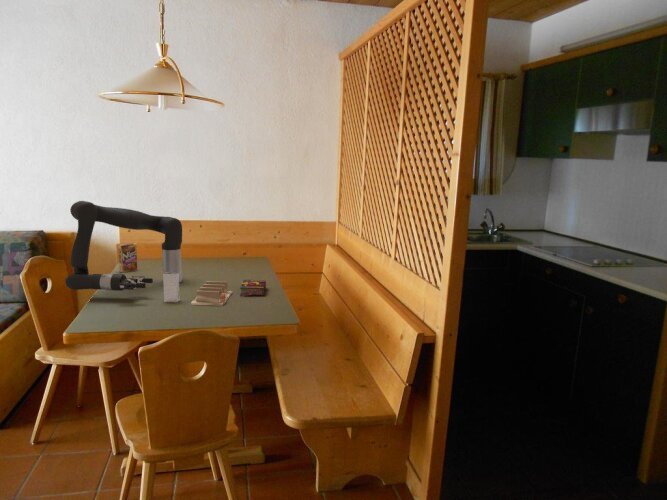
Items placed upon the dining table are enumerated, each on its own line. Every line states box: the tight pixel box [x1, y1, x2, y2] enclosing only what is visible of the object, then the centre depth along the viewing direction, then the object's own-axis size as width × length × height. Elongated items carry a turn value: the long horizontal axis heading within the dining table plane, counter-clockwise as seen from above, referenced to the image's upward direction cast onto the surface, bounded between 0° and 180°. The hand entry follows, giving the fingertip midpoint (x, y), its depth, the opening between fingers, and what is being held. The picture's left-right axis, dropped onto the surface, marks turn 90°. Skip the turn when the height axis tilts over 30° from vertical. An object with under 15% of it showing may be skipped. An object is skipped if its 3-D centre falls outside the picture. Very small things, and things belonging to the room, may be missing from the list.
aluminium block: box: [162, 272, 181, 303], centre depth 232 cm, size 3×6×13 cm, turn 89°
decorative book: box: [239, 279, 267, 298], centre depth 251 cm, size 11×16×5 cm
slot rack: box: [190, 280, 233, 307], centre depth 238 cm, size 20×14×6 cm
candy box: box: [117, 242, 138, 273], centre depth 285 cm, size 9×4×15 cm, turn 134°
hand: (149, 283), depth 232 cm, fingers open, 8 cm apart
